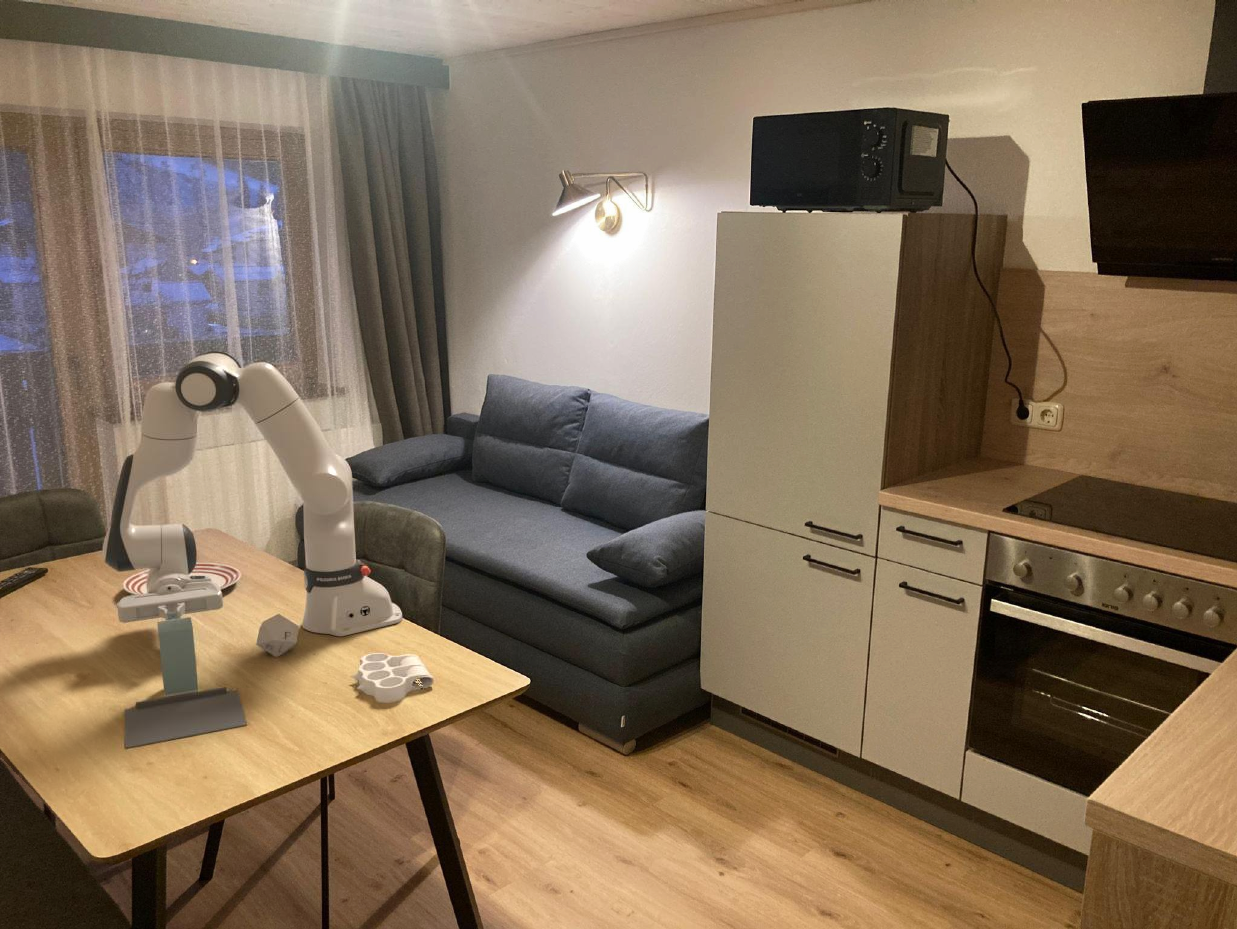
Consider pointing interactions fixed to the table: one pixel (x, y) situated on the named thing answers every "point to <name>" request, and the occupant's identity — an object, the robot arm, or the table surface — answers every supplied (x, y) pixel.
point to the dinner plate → (217, 572)
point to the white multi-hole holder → (391, 676)
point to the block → (177, 656)
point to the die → (277, 635)
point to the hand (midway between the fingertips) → (172, 616)
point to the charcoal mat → (183, 716)
